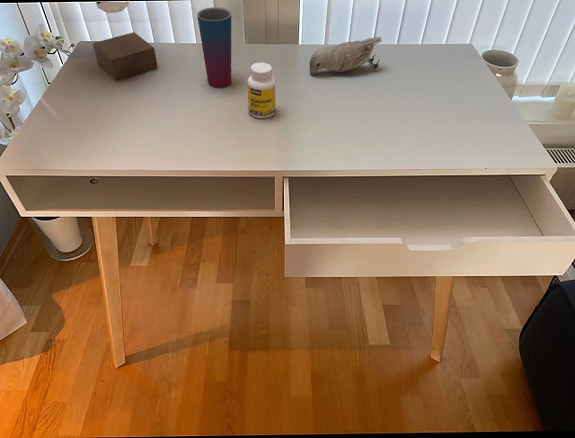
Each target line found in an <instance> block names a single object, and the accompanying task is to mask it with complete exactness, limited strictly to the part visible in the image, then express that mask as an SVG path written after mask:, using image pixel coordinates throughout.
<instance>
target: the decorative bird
mask: <svg viewBox="0 0 575 438" xmlns="http://www.w3.org/2000/svg"><path fill="white" fill-rule="evenodd" d="M380 43H382V36H374V37H369V38H366V39H362V40H354V41H347V42H341V43H339V44H336V45H332V46H325V47H324V46H323V47H320V48H318V49H316V50H315V51H314V52H313V54H312V55H311V57H310V60H309V75H310V76H313V74H315V73H317V72H319V71H320V70H324V69H325V70H328V71H329V72H338V73H344V72H347V71H349V70H353V69H356V68H358V67H361V66H363V65H364V64H366V63H369V64H368V65H369V66H372V68H373V70H375V72H377V69H378V67H379V62H380V61H381V59H378V60H377V62H376V63H373V62H374V61H375V56H376V55H377V54H376V53H375V54H374V55H373V56H372V57H371V55H372V53H373V50H374V48H375V46H376V45H377V44H380Z"/></svg>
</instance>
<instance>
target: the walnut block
mask: <svg viewBox="0 0 575 438" xmlns="http://www.w3.org/2000/svg"><path fill="white" fill-rule="evenodd" d="M92 46H93V51H94V55H95V57H96V63H97V65H98V66H99V67H100V68H101V69H103V71H105V72H106V73H107V74H108V76H110V77H111V79H113V80H114V81H115V82H119V81H123V80H125V79H129V78H131V77H134V76H138V75H141V74H145V73H148V72H151V71H154V70H158V62H157V56H156V49H155V47H154V46H153V45H151V44H150V43H149V42H148V41H146V40H145V39H144V38H143V37H141V36H140V35H138V34H137V33H136V32H135V31H133V32H129V33H126V34H122V35H117V36H114V37H111V38H107V39H102V40H99V41H95V42H92Z"/></svg>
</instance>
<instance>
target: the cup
mask: <svg viewBox="0 0 575 438" xmlns="http://www.w3.org/2000/svg"><path fill="white" fill-rule="evenodd" d="M196 18H197V24H198V28H199V35H200V41H201V48H202V54H203V59H204V65H205V66H204V67H205V71H206V78H207V84H208V85H209V86H210V87H212V88H216V89H222V88H226V87H229V86H230V85H231V84H232V11H230V9H227V8H225V7H218V6H217V7H216V6H214V7H213V6H212V7H206V8H203V9H200V10H199V11H197V13H196Z"/></svg>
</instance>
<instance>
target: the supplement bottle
mask: <svg viewBox="0 0 575 438" xmlns="http://www.w3.org/2000/svg"><path fill="white" fill-rule="evenodd" d="M247 105H248V106H247V109H248V113H249V114H250V115H251V116H252V117H254V118H256V119H267V118H271V117H272V116H273V115H274V114H275V112H276V79H275V77H274V76H273V66H272V65H271V64H269V63H266V62H255V63H253V64H252V65H251V66H250V75H249V77H248V78H247Z"/></svg>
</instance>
